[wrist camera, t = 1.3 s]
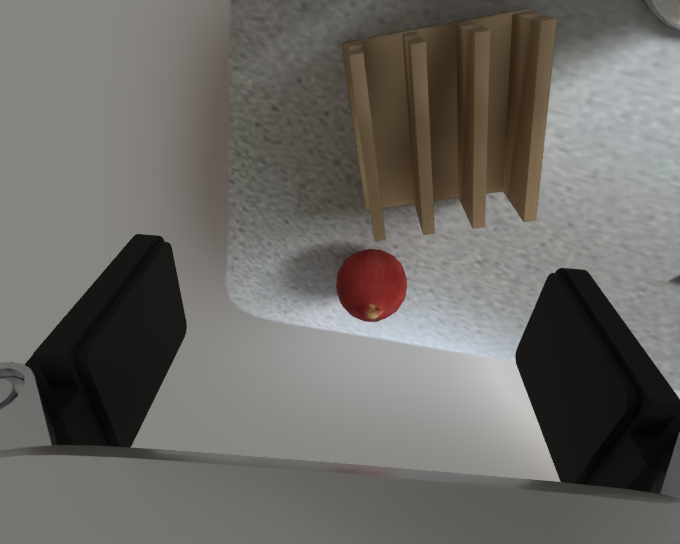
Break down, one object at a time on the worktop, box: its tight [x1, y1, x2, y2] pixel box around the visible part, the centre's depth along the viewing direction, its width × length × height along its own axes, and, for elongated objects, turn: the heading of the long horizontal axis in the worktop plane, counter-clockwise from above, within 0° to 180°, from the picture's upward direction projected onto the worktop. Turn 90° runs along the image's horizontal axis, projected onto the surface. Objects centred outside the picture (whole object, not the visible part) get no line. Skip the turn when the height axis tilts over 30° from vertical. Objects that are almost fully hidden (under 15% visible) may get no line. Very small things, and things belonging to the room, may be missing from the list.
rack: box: [342, 9, 557, 241], centre depth 29 cm, size 12×12×6 cm
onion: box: [336, 249, 407, 322], centre depth 35 cm, size 6×6×8 cm
